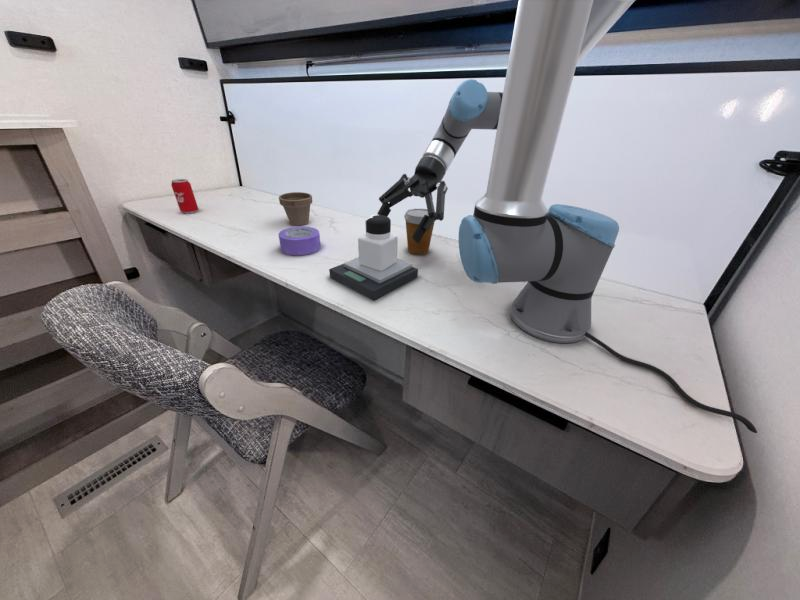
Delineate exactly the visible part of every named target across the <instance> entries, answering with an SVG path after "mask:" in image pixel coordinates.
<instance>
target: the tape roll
mask: <svg viewBox="0 0 800 600" xmlns="http://www.w3.org/2000/svg"><path fill="white" fill-rule="evenodd" d="M277 236H278V239H279V246H280V250H281V251H280V252H282V253H284V254H286V255H288V256H307V255H312V254H315V253H316V252H318V251H320V250H321V247H322V246H321V236H320V230H318V229H317V228H315V227H311V226H305V225H301V226H291V227H286V228H283V229H281V230H280V231H279V232H278V235H277Z"/></svg>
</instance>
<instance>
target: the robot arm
mask: <svg viewBox="0 0 800 600" xmlns="http://www.w3.org/2000/svg"><path fill="white" fill-rule="evenodd" d="M635 1H636V0H518V3H517V7H516V8H517V9H516V14H515V20H514V27H513V31H512V39H511V45H510V51H509V54H508V55H509V56H508V61H507V68H506V73H505V79H504V85H503V91H501V92H500V91H488V89H487V88H486V86H485V85H484V84H483V83H482V82H479V81H478V80H477V79H473V78H471V79H470V78H469V79H466V80H464V81H462V82H460V83H459V85H457V87H456V89H455V90H454V92H453V94H452V95H451V96H450V99H449V102H448V105H447V108H446V111H445V113H444V115H443V117H442V120H441V121H440V124H439V126H438V128H437V130H436V132H435V134H434V136H433V137H432V140H430V143H429V144H428V145H427V147H426V149H425V151H424V152H423V154H422V157H420V159H419V161H418V163H417V164H416V166H415V169H414V174H413V175H412V176H411V177H410V176H408V175H407V173H403V174H402V175H401V176H400V178H399V179H398V180H397V181H396V182H395V183H394V184H393V185H391V186H390V187H389V189H387V190H385V192H384V193H382V195H380V196H378V197H379V198H378V201H379V202H380V203H381V206H380V208H379V209H378V211H377V214H376V215H384V216H387V217H389V215H390V213H391V211H392V209H391V208H392V207H394V206H395V205H398V204H399V203H400V202H402V201H403V200H405V199H408V198H411V197H419V198H422V199H424V200H425V205H426V209H427V210H428V215H429V216H427V215H424V217H423V219H422V220H421V222H420V224H419V226H418V228H417V229H416V231H415V233H414V235H413V236H412V238H413V239H414V240H415V242H416V243H419V242H420V240H421V239H422V237H423V235H424V233H425V232H426V231H429V229H430V227H431V226H432V224H433V222H434V221H435V222H436V221H440V222H441V221H443V220H444V219H445V203H446V194H447V192H448V190H449V189H448V186H447V183H446V182H445V180H443V179H444V178H445V175H446V173H447V171H448V170H449V168H450V166H451V165H452V163H453V161H454V159H455V158H456V155H458V154H457V153H458V152H459V151H460V149H461V147H462V145H463V144H464V142H465V140H466V138H467V137H468V135H469V134H470V132H471V131H472V130H494V131H495V130H496V132H495V138H494V145H493V151H492V155H491V162H490V168H489V169H490V170H489V174H488V181H487V186H486V192H485V193H484V195H483V196H481V197H480V198H479V199H477V201H475V202H474V208H473V215H471V214H468V215H467V216H464V217H463V218H462V219H461V221H460V224H459V227H458V249H459V250H458V252H459V257H460V260H461V265H462V268H463V270H464V272H465V273H466V276H467V277H468V278H469V280H471V281H472V282H475V283H477V284H479V283H480V284H481V283H482V284H487V283H488V284H489V283H490V284H492V285H496V284H499V283H503V284H504V283H525V282H526V284H525V285H524V286H523V287H522V289H521V291H520V292H519V293H518V294H517V296H516V298H514V300H513V301H512V304H511V308H510V311H509V313H510V318H511V320H512V321H513V323H514V324H515V325H516V327H518V328H520V329H521V330H522V331H524V332H525V333H527V334H529V335H530V336H533V337H535V338H538V339H540V340H544V341H547V342H552V343H558V344H572V343H574V344H575V343H578V342H581V341H582V340H584V339H585V338H587V339H589V340H591V341H593V342H594V343H596V344H597V345H599V346H600V347H601V348H602V349H604V350H606V351H607V352H608V353H609V354H611V355H613V356H614V357H616V358H618V359H619V360H621V361H624V362H625V363H629V364H633V365H635V366H639V367H642V368H645V369H648V370H650V371H653V372H655V373H656V374H658V375H659V376H661V377H662V378H664V379H665V380H666V381H667V382H668V383H669V384H670V385H671V387H673V389H674V390H675V391H676V393H678V394H679V396H681V397H682V398H683V399H684V400H685V401H686V402H688V403H690V404H691V405H693V406H694V407H696V408H698V409H701V410H703V411H706V412H709V413H713V414H716V415H720V416H724V417H728V418H731V419H734V420H737V421H739V422H740V423H742V424H743V425H744V426H745V427H746V428H747V430H749V432H751V433H753V434H758V431H757V430H758V429H757V428H756V427H755V426H754V424H753V423H752V422H751V421H750V420H749V419H748V418H746V417H745V416H744V415H743V416H742V415H741V414H739V413H738V414H737V413H736V412H733V411H730V410H725V409H722V408H721V409H720V408H717V407H713V406H710V405H706V404H703V403H701V402H700V401H697V400H696V399H695V398H693V397H692V396H690V395H689V394H687V392H686V391H684V390H683V388H682V387H681V386H680V385H679V384H678V382H677V381H676V380H675V379H674V378H673V377H672V376H671V375H669V374H668V373H667V372H665V371H664V370H662V369H660V368H659V367H657V366H655V365H652V364H649V363H646V362H643V361H639V360H636V359H633V358H630V357H627V356H625V355H622V354H621V353H619V352H617V351H616V350H615V349H613V348H612V347H610V346H609V345H607V344H606V343H605V342H603V341H602V340H600V339H599V338H597V337H595V336H594V335H592V334H591V333H589V332H590V329H591V327H592V298H593V295H594V293H595V290H596V288H597V286H598V283H599V281H600V279H601V276H602V274H603V272H604V270H605V268H606V266H607V263H608V261H609V259H610V257H611V254H612V251H613V249H614V248H615V247H616V245H615V243H616V240H617V237H618V235H619V233H620V225H619V223H618V221H616V220H615V219H614V218H612V217H610V216H608V215H606V214H603V213H600V212H597V211H594V210H591V209H587V208H583V207H578V206H574V205H568V204H561V203H559V204H557V203H556V204H552V205H550V206H549V207H547V205H546V204H545V203H544V201H543V194H544V192H545V191H544V190H545V187H546V184H547V179H548V175H549V171H550V168H551V163H552V160H553V156H554V154H555V153H554V152H555V149H556V144H557V141H558V137H559V134H560V129H561V125H562V122H563V118H564V114H565V110H566V107H567V104H568V99H569V95H570V92H571V87H572V83H573V80H574V76H575V72H576V68H577V66H578V65H579V64H580V63H581V62H582V61H583V60H584V59H585V58H586V57H587V55H588V54H589V53H590V52H591V51H592V49H593V48H594V47H595V46H596V45H597V44H598V43H599V42H600V41H601V40H602V39H603V37H605V35H606V34H607V33H608V31H610V29H611V28H613V26H614V25H615V24H616V22H618V21H619V20H620V19H621V17H622V16H623V15H624V14H625V12H627V11H628V9H629V8H630V7H631V6H632V5H633V3H635ZM435 191H437V192H436V203H435V205H436V206H435V205H434V201H433V200H434V199H433V194H432V193H434V192H435ZM435 222H434V223H435Z"/></svg>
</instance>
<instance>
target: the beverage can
mask: <svg viewBox="0 0 800 600" xmlns="http://www.w3.org/2000/svg"><path fill="white" fill-rule="evenodd" d="M170 186H171V188H172V191H173V195H174V198H175V200H176V202H177V205H178V208H179V211H180V212H181V213H182V214H195V213H197V212H198V211H199V206H198V203H197V199H196V197H195V194H194V190H193V188H192V184H191V183H190V181H189V180H188V179H187V178H176V179H172V180H171V183H170Z"/></svg>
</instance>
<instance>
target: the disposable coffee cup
mask: <svg viewBox="0 0 800 600" xmlns="http://www.w3.org/2000/svg"><path fill="white" fill-rule="evenodd" d="M424 215H427V216H429V215H428V210H427V208H411V209H406V211H405V213H404V214H403V218H404V220H405V230H406V241H407V252H408V253H410V254H411V255H416V256H423V255H427V254H428V253H429V249H430V246H431V241H432V236H433V232H434V226H435V222H436V220H435V221H434V222H433V224H432V226H431V227H430V229H429V231H426V232H425V233H424V235H423V237H422V239H421V240H420V242H419V243H416V242H415V240H414V239H413V238H412V236H413V235H414V233H415V231H416V229H417V228H418V226H419V224H420V222H421V220H422V219H423V217H424Z"/></svg>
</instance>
